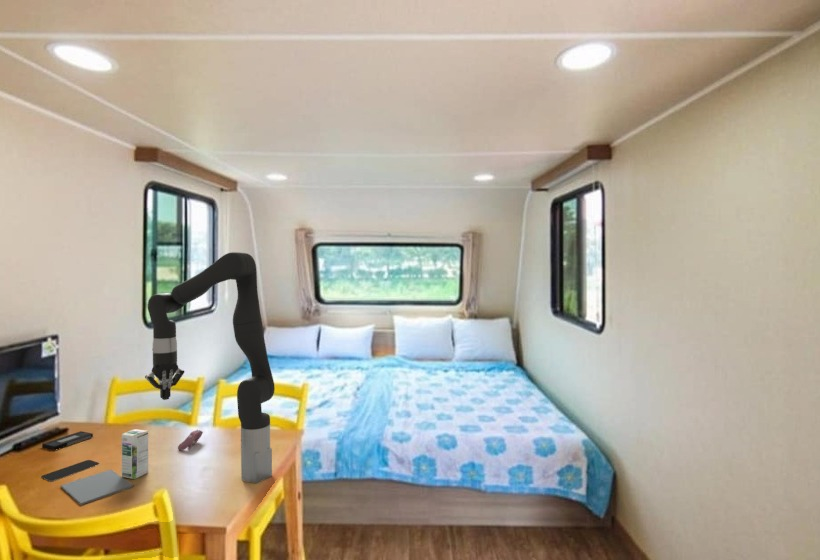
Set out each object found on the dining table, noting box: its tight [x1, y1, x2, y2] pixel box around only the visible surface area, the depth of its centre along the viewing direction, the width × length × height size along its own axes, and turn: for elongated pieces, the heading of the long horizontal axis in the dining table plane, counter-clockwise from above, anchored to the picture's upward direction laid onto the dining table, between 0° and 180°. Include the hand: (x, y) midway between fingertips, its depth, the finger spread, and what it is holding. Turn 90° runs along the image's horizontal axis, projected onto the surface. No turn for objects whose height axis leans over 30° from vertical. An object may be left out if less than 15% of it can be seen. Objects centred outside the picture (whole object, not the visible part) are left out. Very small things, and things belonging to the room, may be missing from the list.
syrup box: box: [121, 428, 149, 480], centre depth 151 cm, size 6×6×14 cm
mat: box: [60, 469, 134, 506], centre depth 143 cm, size 18×14×1 cm
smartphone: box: [40, 459, 100, 482], centre depth 155 cm, size 7×1×15 cm
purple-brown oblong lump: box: [177, 429, 204, 451], centre depth 176 cm, size 10×5×7 cm, turn 179°
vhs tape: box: [41, 430, 94, 451], centre depth 179 cm, size 8×14×2 cm, turn 159°
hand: (165, 399), depth 159 cm, fingers closed
